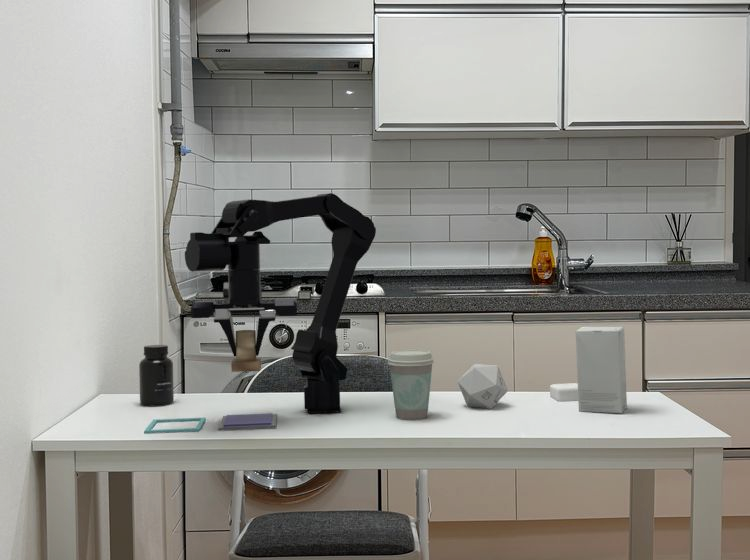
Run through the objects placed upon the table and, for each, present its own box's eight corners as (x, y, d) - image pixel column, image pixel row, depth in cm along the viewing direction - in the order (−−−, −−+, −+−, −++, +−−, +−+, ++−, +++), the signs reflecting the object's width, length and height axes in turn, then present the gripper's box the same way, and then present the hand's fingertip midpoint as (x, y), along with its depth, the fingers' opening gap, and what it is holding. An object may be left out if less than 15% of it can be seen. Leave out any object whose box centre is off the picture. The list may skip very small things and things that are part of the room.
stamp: (260, 367, 155) (260, 329, 154) (259, 371, 150) (258, 332, 149) (233, 367, 154) (232, 329, 154) (231, 371, 149) (230, 332, 149)
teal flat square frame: (205, 419, 157) (205, 417, 157) (200, 431, 147) (199, 428, 147) (153, 421, 156) (153, 419, 156) (144, 433, 146) (144, 431, 146)
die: (472, 416, 158) (504, 374, 157) (441, 388, 164) (472, 347, 163) (492, 424, 165) (523, 383, 163) (462, 396, 170) (492, 357, 169)
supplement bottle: (165, 407, 170) (163, 348, 169) (134, 406, 171) (132, 348, 170) (179, 400, 176) (177, 343, 176) (149, 400, 178) (147, 343, 177)
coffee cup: (382, 420, 153) (380, 354, 152) (398, 410, 161) (396, 348, 160) (426, 422, 150) (425, 356, 149) (440, 413, 158) (439, 349, 157)
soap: (558, 403, 167) (558, 388, 166) (549, 398, 172) (548, 383, 172) (601, 401, 168) (601, 386, 168) (590, 396, 173) (590, 381, 173)
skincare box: (627, 408, 159) (627, 326, 158) (622, 415, 153) (621, 330, 152) (582, 405, 163) (582, 325, 162) (575, 411, 157) (575, 328, 156)
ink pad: (276, 416, 158) (276, 412, 158) (275, 428, 148) (275, 423, 148) (223, 418, 157) (223, 414, 157) (218, 430, 147) (218, 426, 147)
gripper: (295, 267, 160) (297, 348, 161) (196, 269, 158) (199, 351, 159) (296, 269, 149) (298, 356, 150) (189, 271, 147) (191, 359, 148)
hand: (246, 355), depth 152 cm, fingers closed on stamp, 4 cm apart
